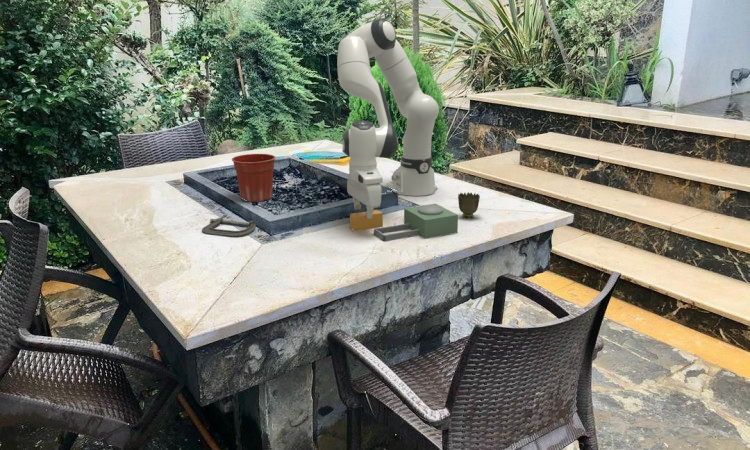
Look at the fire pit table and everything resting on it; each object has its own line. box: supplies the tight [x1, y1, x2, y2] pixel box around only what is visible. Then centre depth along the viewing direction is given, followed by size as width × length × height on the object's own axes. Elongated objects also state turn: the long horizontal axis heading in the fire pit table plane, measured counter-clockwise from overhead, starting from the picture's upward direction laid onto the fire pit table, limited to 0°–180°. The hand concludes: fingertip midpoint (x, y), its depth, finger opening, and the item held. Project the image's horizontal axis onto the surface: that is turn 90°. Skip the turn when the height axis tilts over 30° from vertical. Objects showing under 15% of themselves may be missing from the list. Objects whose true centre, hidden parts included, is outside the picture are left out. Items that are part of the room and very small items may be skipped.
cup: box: [457, 191, 480, 219], centre depth 199 cm, size 8×7×8 cm
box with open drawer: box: [373, 203, 459, 242], centre depth 185 cm, size 14×25×7 cm, turn 115°
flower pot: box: [231, 153, 277, 203], centre depth 222 cm, size 16×16×16 cm
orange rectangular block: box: [349, 209, 384, 232], centre depth 190 cm, size 4×10×5 cm, turn 115°
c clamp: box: [201, 215, 257, 238], centre depth 192 cm, size 20×17×3 cm
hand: (363, 213), depth 189 cm, fingers open, 8 cm apart
